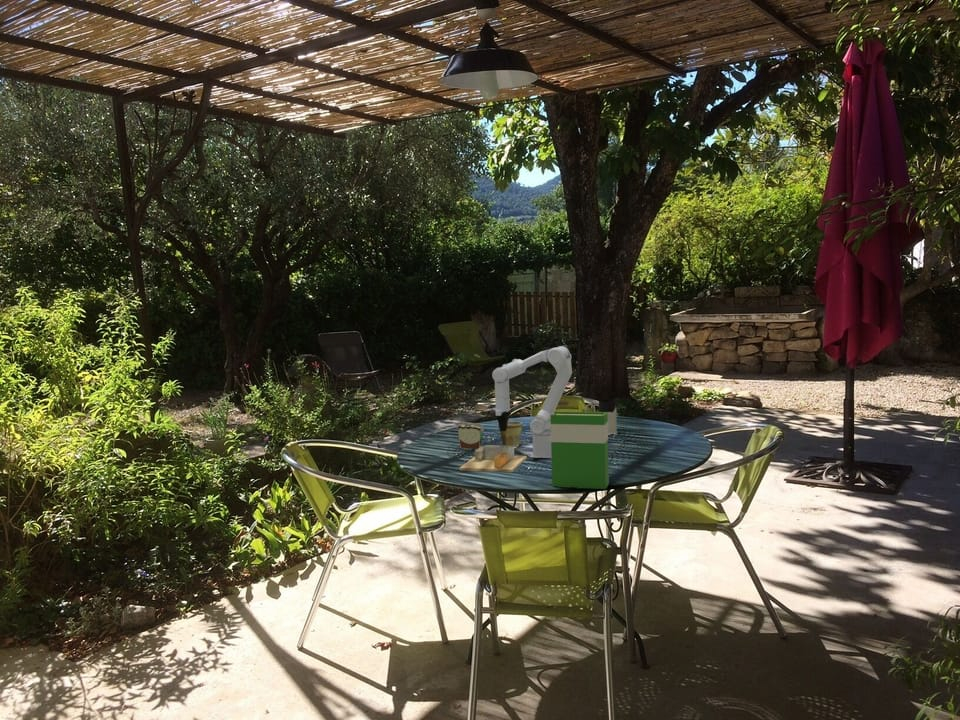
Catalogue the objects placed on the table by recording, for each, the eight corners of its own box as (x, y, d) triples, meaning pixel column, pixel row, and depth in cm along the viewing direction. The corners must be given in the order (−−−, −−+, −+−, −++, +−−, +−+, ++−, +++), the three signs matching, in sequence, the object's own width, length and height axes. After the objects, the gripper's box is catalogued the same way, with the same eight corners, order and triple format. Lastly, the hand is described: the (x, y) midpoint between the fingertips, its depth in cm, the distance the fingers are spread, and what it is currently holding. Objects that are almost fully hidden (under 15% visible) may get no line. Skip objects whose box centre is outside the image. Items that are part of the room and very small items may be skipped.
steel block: (506, 458, 291) (505, 445, 291) (503, 460, 287) (503, 447, 287) (486, 457, 293) (485, 444, 293) (483, 459, 290) (482, 447, 289)
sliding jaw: (514, 455, 293) (514, 447, 293) (500, 467, 274) (500, 458, 274) (508, 455, 294) (507, 446, 294) (494, 467, 275) (493, 458, 275)
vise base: (526, 458, 294) (526, 446, 294) (512, 472, 272) (511, 459, 272) (477, 457, 300) (477, 445, 299) (459, 470, 278) (459, 457, 277)
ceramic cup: (521, 449, 312) (520, 425, 311) (497, 448, 314) (496, 425, 313) (525, 442, 325) (524, 419, 324) (502, 442, 327) (501, 419, 326)
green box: (552, 486, 250) (550, 415, 248) (556, 481, 257) (555, 411, 255) (605, 489, 245) (604, 415, 243) (608, 483, 252) (607, 412, 250)
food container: (489, 447, 317) (489, 424, 317) (482, 450, 312) (481, 426, 311) (464, 445, 324) (464, 422, 323) (457, 448, 318) (456, 424, 318)
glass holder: (619, 435, 334) (618, 401, 332) (587, 436, 334) (586, 403, 333) (616, 432, 342) (615, 399, 341) (584, 433, 343) (583, 400, 341)
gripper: (497, 394, 310) (498, 427, 311) (487, 399, 296) (488, 433, 297) (514, 394, 308) (515, 427, 309) (505, 399, 294) (506, 434, 295)
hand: (503, 430), depth 303 cm, fingers closed
